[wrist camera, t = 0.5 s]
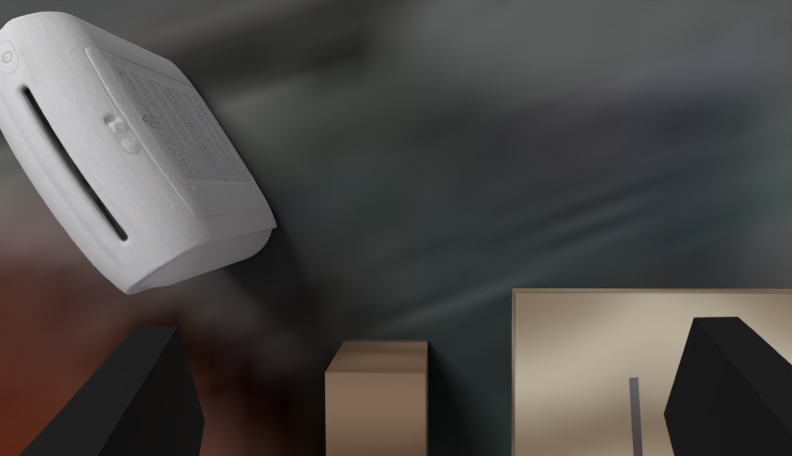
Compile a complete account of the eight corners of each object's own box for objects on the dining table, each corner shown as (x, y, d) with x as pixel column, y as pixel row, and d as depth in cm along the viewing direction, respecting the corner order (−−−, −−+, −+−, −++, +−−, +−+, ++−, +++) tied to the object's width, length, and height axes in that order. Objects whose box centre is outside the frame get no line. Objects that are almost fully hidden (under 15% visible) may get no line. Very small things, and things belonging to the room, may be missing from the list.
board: (919, 585, 33) (943, 604, 31) (511, 574, 34) (514, 592, 32) (932, 289, 32) (956, 294, 30) (512, 288, 33) (515, 293, 32)
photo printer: (103, 98, 34) (-90, 49, 21) (176, 48, 33) (21, -30, 21) (220, 277, 34) (94, 331, 22) (293, 230, 34) (208, 257, 21)
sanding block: (428, 521, 34) (426, 592, 28) (347, 519, 34) (328, 590, 28) (427, 339, 34) (425, 373, 28) (344, 338, 34) (325, 372, 28)
